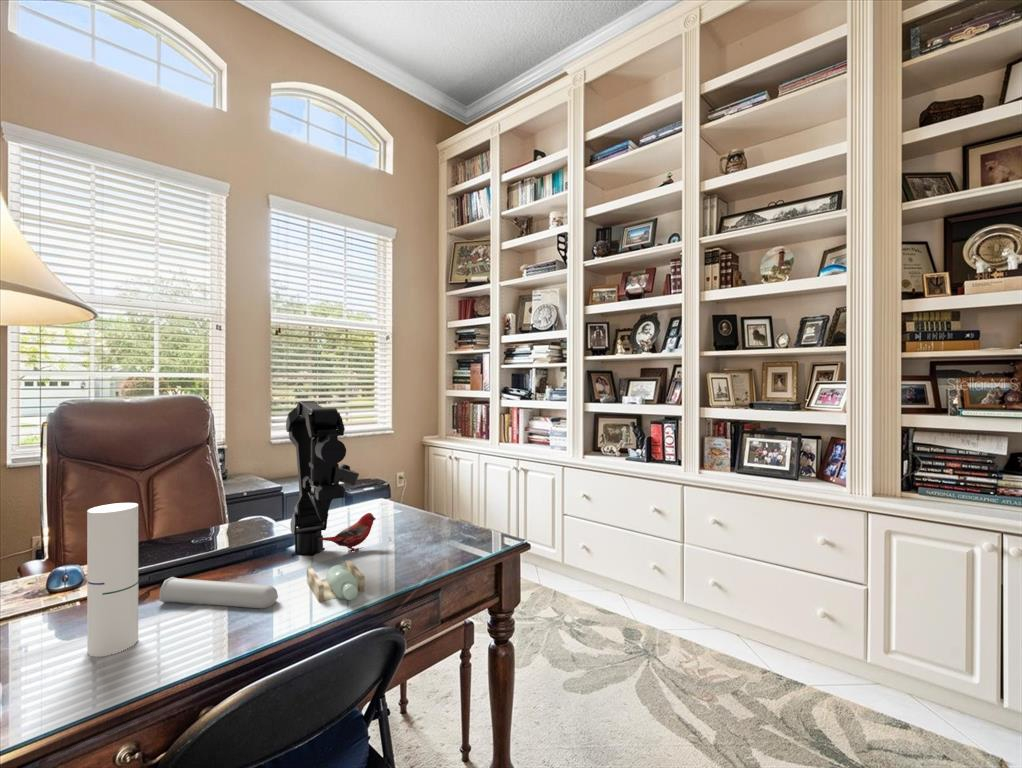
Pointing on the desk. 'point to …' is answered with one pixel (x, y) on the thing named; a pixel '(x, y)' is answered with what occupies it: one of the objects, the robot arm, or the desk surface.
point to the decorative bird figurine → (353, 533)
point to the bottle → (342, 582)
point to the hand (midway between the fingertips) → (323, 520)
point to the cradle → (322, 587)
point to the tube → (217, 593)
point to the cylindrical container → (112, 578)
